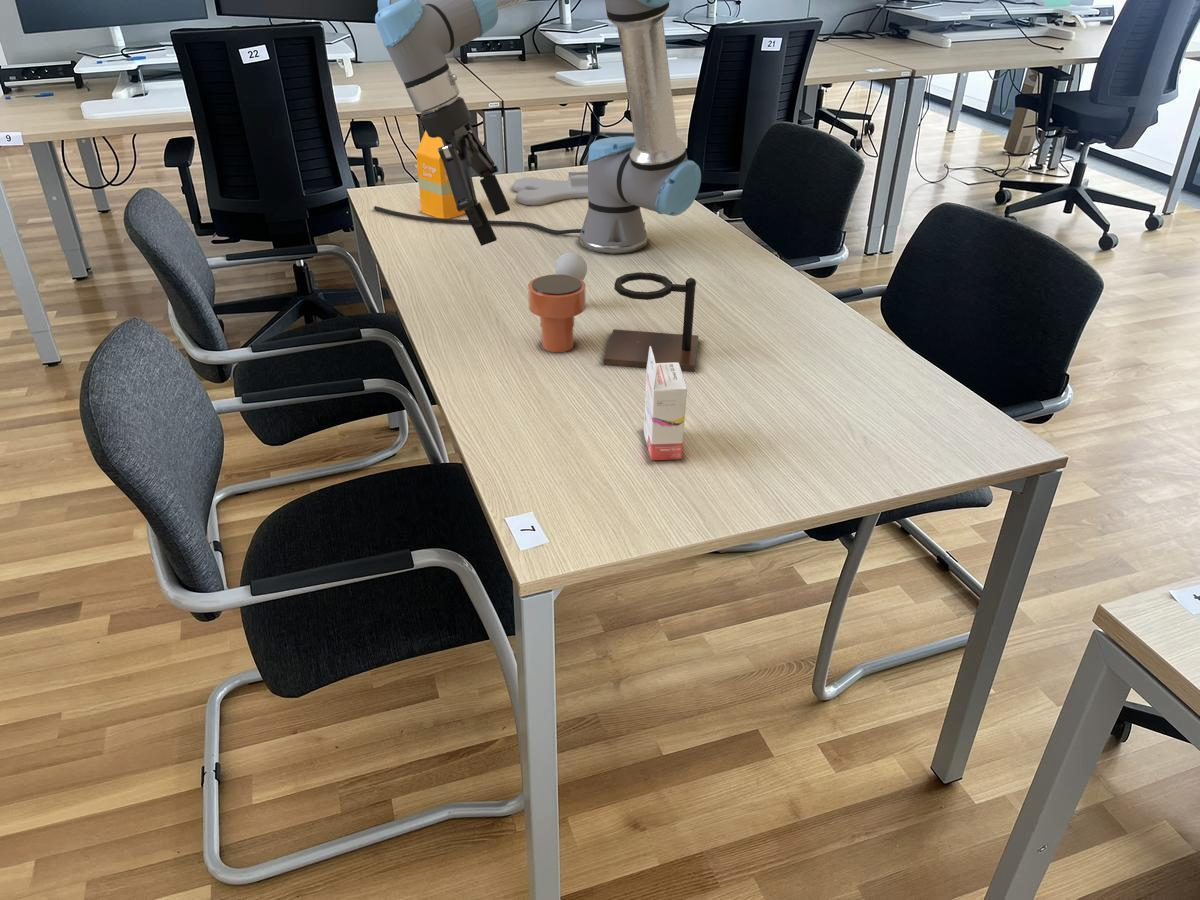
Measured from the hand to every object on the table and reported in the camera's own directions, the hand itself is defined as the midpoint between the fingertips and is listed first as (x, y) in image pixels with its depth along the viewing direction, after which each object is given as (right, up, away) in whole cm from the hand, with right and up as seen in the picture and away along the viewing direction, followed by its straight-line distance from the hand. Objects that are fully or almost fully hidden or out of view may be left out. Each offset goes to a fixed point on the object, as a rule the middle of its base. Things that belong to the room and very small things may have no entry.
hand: (496, 227), depth 155 cm
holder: (+12, +30, +86) cm, 92 cm away
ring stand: (+27, -19, +7) cm, 34 cm away
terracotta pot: (+10, -19, +10) cm, 23 cm away
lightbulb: (+12, -10, +24) cm, 29 cm away
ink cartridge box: (+27, -37, -18) cm, 49 cm away
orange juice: (-21, +21, +72) cm, 77 cm away
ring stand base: (+27, -20, +7) cm, 34 cm away
